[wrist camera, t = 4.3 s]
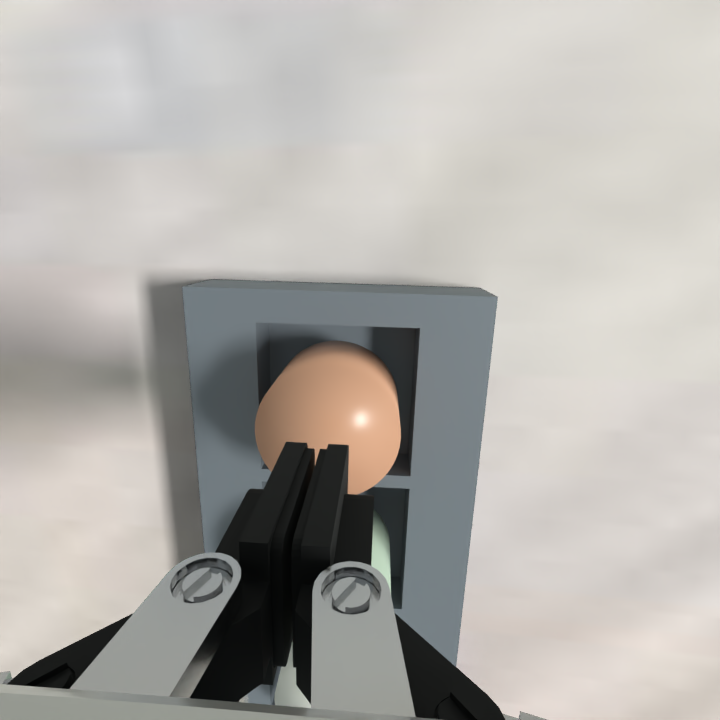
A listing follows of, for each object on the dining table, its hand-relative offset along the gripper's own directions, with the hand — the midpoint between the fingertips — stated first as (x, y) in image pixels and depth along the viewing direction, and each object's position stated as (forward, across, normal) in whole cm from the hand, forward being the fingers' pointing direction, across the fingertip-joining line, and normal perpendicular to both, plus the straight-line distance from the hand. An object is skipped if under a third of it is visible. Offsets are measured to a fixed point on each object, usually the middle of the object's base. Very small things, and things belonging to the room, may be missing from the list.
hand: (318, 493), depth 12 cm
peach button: (+7, 0, 0) cm, 7 cm away
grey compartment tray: (+9, 0, +7) cm, 12 cm away
